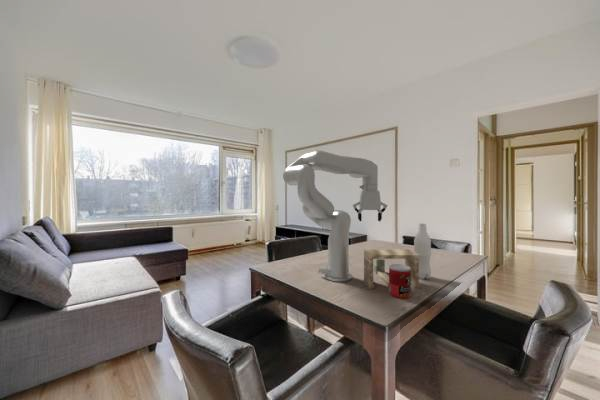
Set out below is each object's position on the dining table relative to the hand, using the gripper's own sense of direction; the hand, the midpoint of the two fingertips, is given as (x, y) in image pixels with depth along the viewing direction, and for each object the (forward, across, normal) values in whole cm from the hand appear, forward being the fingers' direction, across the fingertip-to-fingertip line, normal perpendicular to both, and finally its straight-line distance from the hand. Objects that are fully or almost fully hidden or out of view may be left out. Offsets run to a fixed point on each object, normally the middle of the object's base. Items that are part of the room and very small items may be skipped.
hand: (369, 221), depth 127 cm
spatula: (+25, +4, -13) cm, 29 cm away
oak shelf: (+25, +5, -21) cm, 33 cm away
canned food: (+26, +5, -32) cm, 41 cm away
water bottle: (+25, +22, -11) cm, 35 cm away
